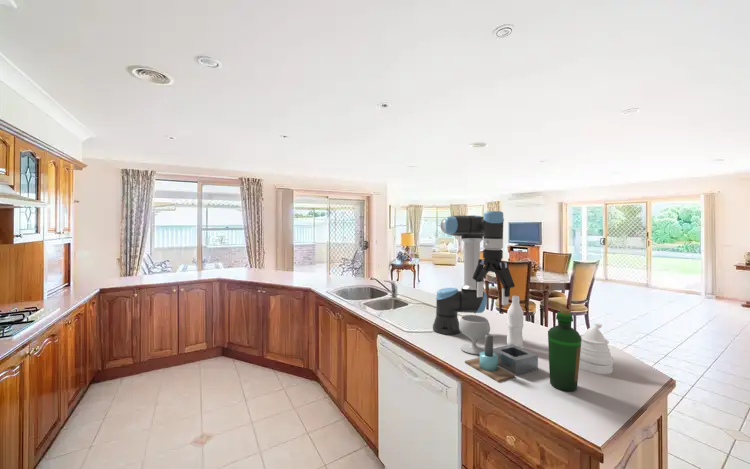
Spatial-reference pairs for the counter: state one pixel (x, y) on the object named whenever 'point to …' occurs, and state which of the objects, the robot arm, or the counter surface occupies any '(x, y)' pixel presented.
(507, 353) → the box
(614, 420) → the counter surface
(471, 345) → the chalice
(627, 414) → the counter surface
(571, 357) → the bottle
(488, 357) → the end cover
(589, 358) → the honey pot
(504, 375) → the walnut mat
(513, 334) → the water bottle
